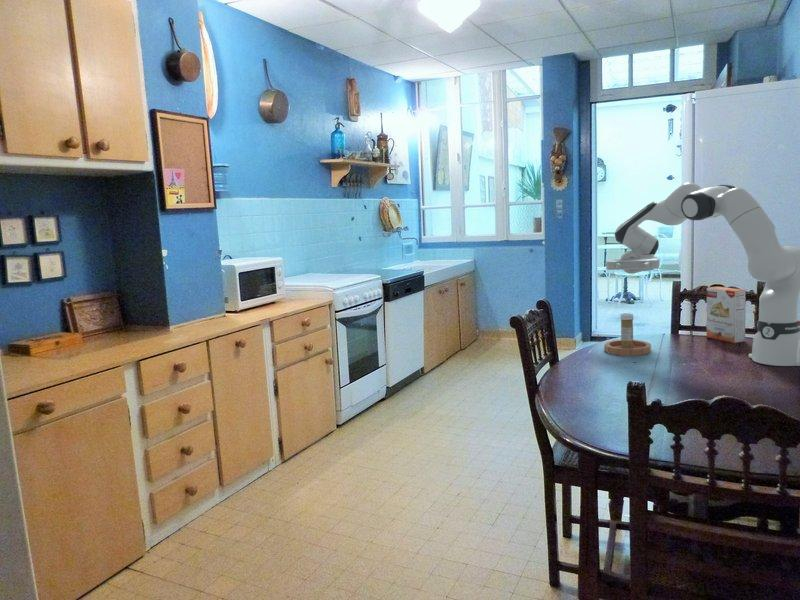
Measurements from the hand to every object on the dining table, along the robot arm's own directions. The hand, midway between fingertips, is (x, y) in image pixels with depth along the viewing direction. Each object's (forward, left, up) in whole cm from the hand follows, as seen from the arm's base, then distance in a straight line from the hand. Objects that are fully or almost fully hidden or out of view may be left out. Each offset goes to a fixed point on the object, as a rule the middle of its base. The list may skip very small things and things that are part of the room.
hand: (632, 266), depth 237 cm
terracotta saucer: (+9, +4, -32) cm, 34 cm away
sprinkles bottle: (+10, +4, -31) cm, 33 cm away
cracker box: (-31, +19, -32) cm, 49 cm away
